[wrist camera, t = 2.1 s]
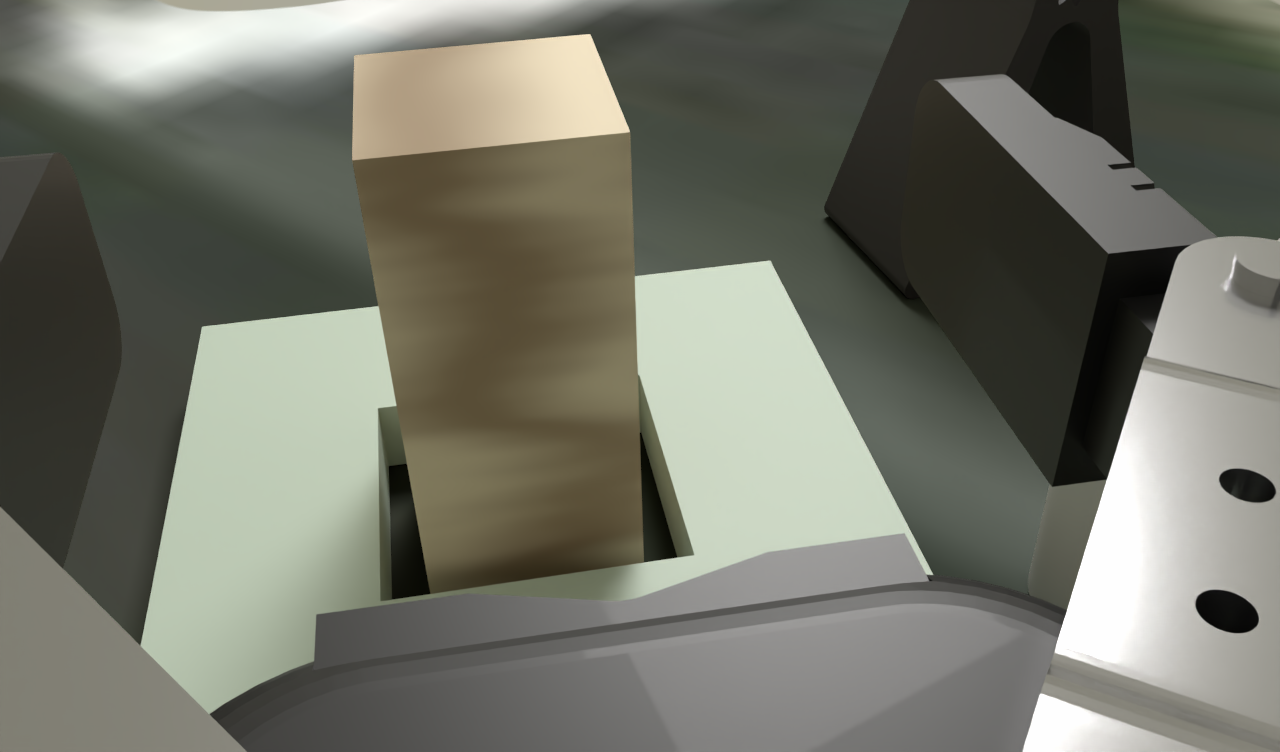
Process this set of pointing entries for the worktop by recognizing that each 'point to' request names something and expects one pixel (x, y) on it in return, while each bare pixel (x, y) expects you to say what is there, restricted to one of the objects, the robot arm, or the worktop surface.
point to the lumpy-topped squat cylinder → (1063, 540)
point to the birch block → (506, 302)
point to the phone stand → (965, 47)
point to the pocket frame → (372, 441)
